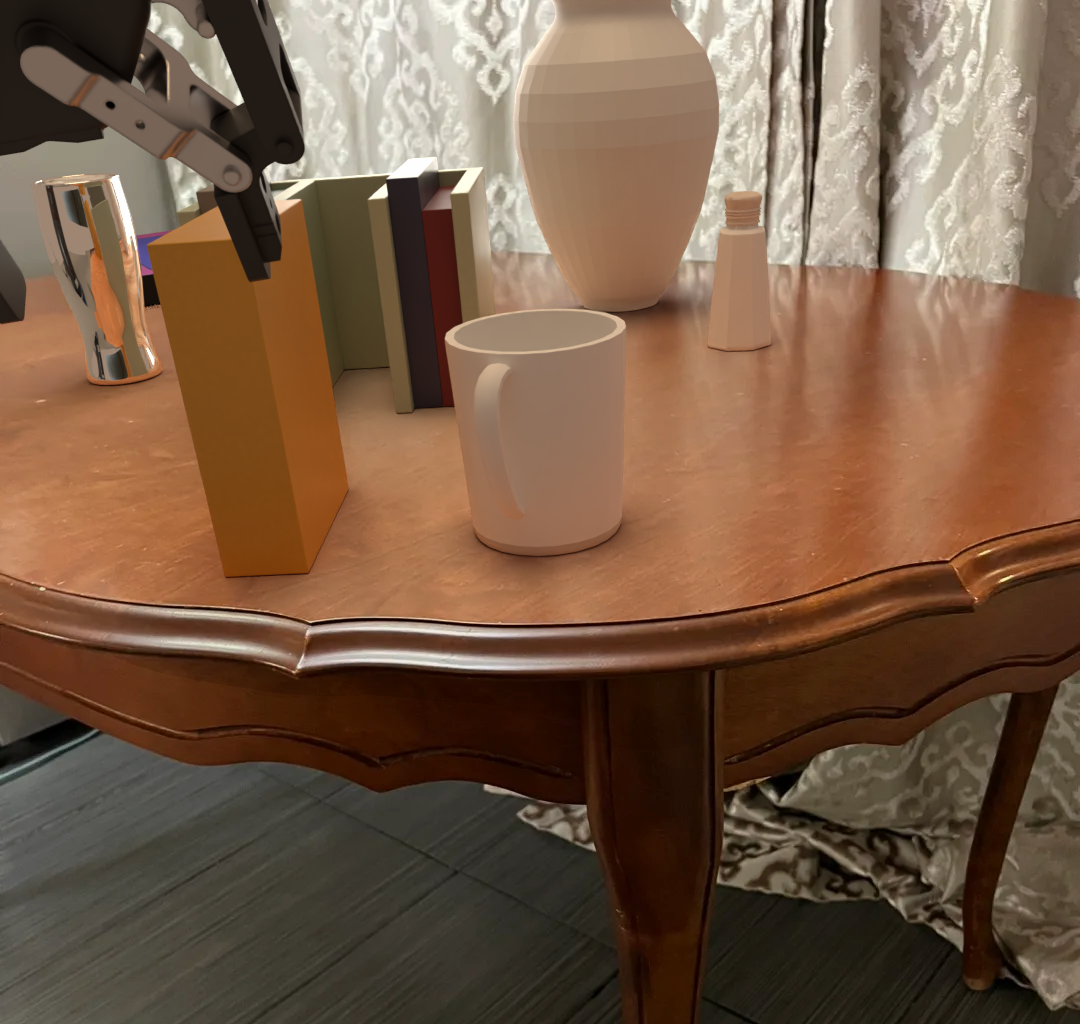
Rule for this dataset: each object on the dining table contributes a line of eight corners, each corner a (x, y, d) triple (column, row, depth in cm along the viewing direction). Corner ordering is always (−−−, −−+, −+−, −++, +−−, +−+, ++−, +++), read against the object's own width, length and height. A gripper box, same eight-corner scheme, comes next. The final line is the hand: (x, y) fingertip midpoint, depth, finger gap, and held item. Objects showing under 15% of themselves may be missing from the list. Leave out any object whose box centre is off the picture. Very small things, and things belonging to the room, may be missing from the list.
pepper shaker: (720, 332, 93) (723, 187, 87) (782, 336, 90) (790, 187, 85) (694, 349, 89) (695, 198, 83) (759, 353, 87) (765, 199, 81)
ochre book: (224, 577, 57) (145, 244, 49) (277, 492, 67) (219, 204, 59) (308, 573, 57) (244, 238, 48) (349, 488, 67) (301, 198, 59)
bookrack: (222, 423, 80) (172, 195, 72) (268, 370, 92) (229, 169, 84) (487, 408, 79) (467, 175, 71) (499, 356, 91) (482, 151, 83)
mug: (506, 489, 65) (490, 306, 60) (652, 502, 62) (650, 310, 57) (418, 566, 57) (391, 362, 51) (582, 586, 54) (571, 370, 48)
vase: (493, 321, 101) (465, -5, 88) (572, 280, 115) (558, -9, 101) (678, 330, 94) (678, -24, 81) (740, 285, 108) (749, -25, 94)
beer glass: (110, 364, 97) (59, 174, 89) (183, 363, 96) (138, 170, 88) (66, 387, 91) (8, 186, 83) (142, 387, 90) (91, 182, 82)
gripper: (159, -447, 25) (335, 174, 40) (-465, -340, 25) (-58, 240, 40) (158, -271, 22) (350, 333, 36) (-555, -149, 22) (-77, 403, 37)
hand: (137, 284), depth 38 cm, fingers open, 8 cm apart
